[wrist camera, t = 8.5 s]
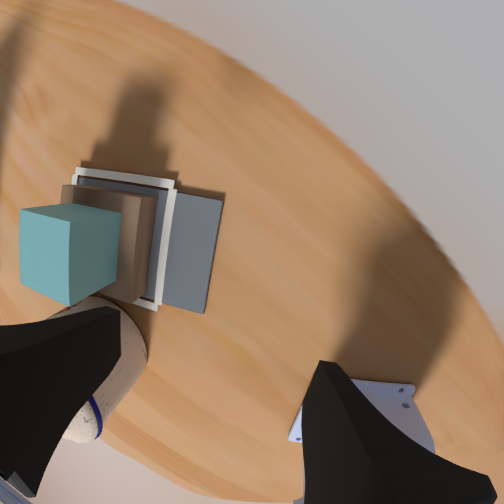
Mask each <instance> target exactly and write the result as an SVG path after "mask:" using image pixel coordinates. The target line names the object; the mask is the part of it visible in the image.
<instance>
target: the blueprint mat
mask: <svg viewBox="0 0 504 504" xmlns="http://www.w3.org/2000/svg"><path fill="white" fill-rule="evenodd" d="M78 175H83V176H91V177H98V178H105V179H112V180H119V181H126V182H133V183H139V184H146V185H152V186H158V187H164V188H169V190H168V191H167V190H161V189H155V188H149V187H143V186H136V185H130V184H124V183H117V182H110V181H103V180H96V179H89V178H79V184H78V185H81V184H83V185H90V186H96V187H103V188H109V189H115V190H121V191H127V192H133V193H139V194H145V195H150V196H156V197H158V202H157V208H156V215H155V222H154V229H153V237H152V245H151V254H150V264H149V274H148V285H147V292H146V293H145V294H144V295H142V296H141V297H144V298H147V299H151V300H154V303H153V302H150V301H147V300H144V299H141V298H138V299H137V300H136V301H134V302H133V303H132V304H135V305H138V306H141V307H144V308H147V309H150V310H154V311H158V305H161V306H162V303H164V304H167V305H171V306H174V307H178V308H181V309H185V310H189V311H192V312H196V313H200V314H204V312H205V307H206V300H207V294H208V288H209V282H210V276H211V270H212V264H213V258H214V252H215V247H216V241H217V235H218V230H219V225H220V219H221V214H222V209H223V203H224V201H221V200H216V199H211V198H205V197H200V196H195V195H189V194H184V193H178V192H177V190H176V189H174V183H175V180H170V179H164V178H158V177H151V176H144V175H137V174H130V173H122V172H115V171H107V170H98V169H89V168H80V167H76V172H75V174H73V176H72V183H71V185H77V182H78Z"/></svg>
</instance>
